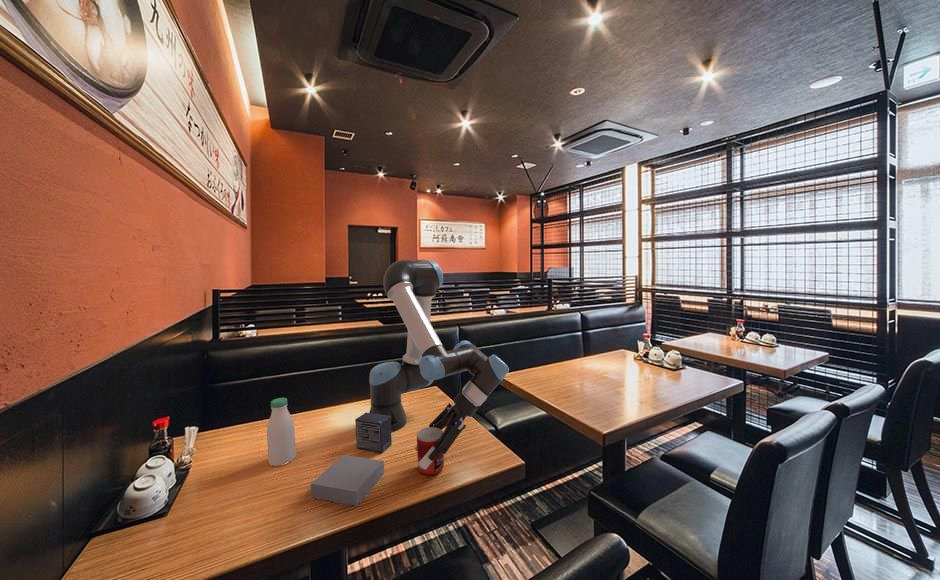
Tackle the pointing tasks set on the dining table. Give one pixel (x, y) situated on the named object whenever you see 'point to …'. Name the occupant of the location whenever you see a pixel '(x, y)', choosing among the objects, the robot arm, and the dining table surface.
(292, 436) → the milk bottle
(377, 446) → the small box
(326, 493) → the slate stand
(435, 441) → the canned food
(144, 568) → the dining table surface
